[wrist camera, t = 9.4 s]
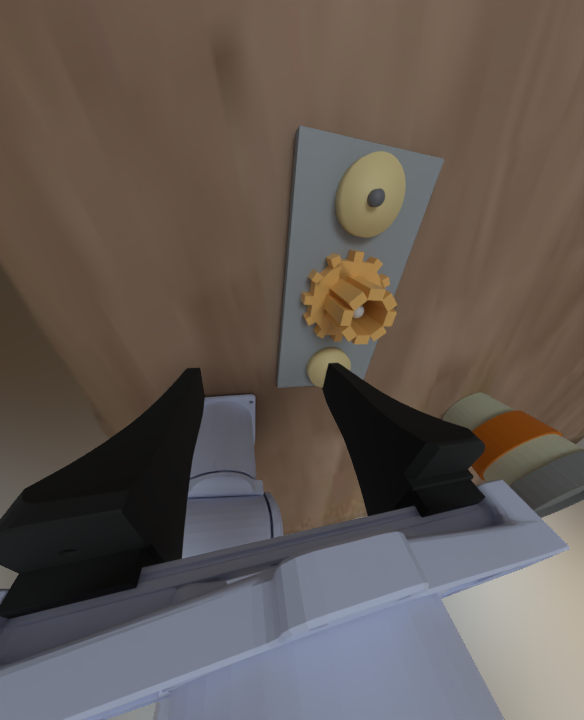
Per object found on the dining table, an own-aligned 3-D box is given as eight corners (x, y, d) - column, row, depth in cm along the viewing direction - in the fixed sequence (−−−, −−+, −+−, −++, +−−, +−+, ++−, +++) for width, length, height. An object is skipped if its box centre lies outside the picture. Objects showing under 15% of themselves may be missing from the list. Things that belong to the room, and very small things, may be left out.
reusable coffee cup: (460, 435, 44) (544, 519, 32) (419, 430, 39) (500, 526, 27) (511, 390, 38) (638, 472, 26) (470, 378, 33) (603, 471, 21)
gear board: (358, 377, 28) (377, 402, 24) (276, 382, 25) (282, 411, 22) (434, 161, 16) (492, 146, 13) (296, 130, 14) (317, 99, 10)
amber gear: (367, 335, 23) (395, 361, 19) (295, 336, 21) (309, 364, 17) (395, 254, 19) (438, 264, 15) (307, 245, 17) (329, 255, 13)
